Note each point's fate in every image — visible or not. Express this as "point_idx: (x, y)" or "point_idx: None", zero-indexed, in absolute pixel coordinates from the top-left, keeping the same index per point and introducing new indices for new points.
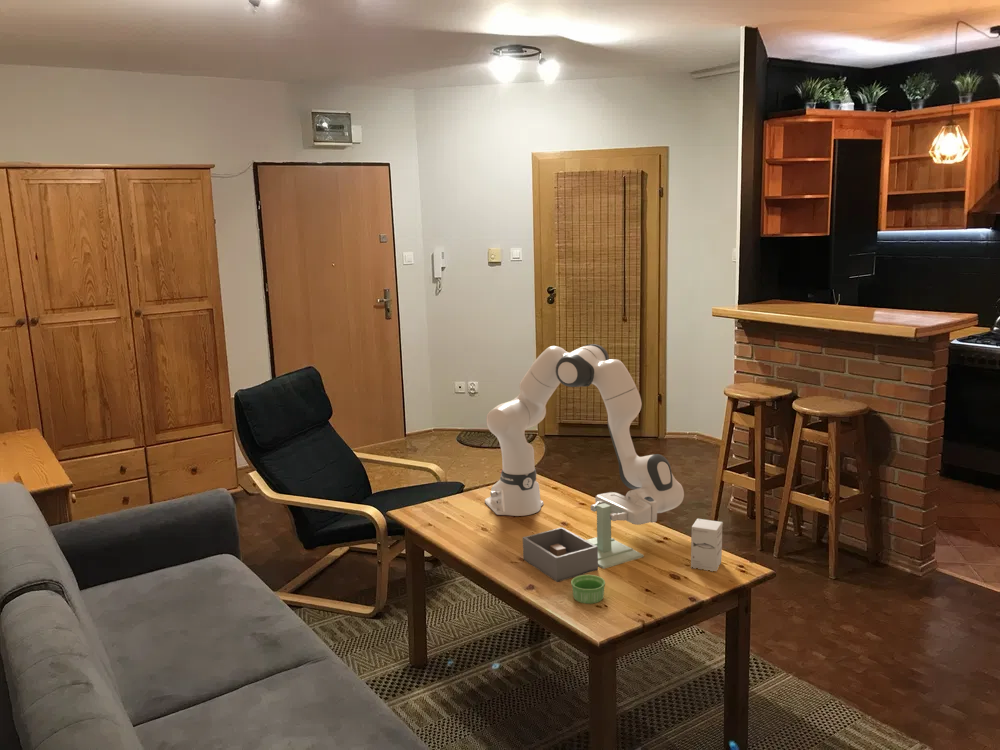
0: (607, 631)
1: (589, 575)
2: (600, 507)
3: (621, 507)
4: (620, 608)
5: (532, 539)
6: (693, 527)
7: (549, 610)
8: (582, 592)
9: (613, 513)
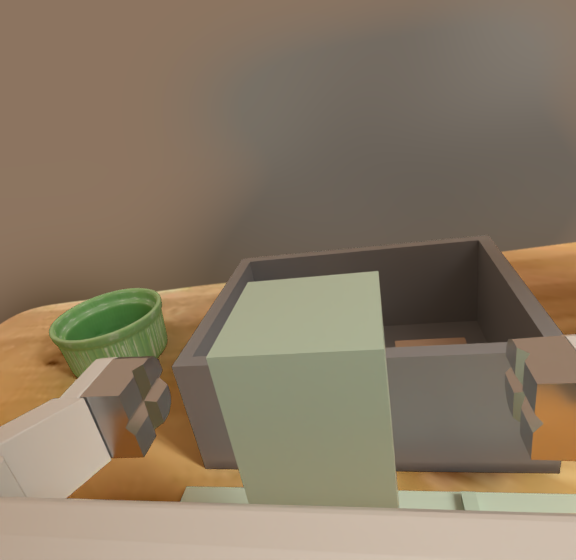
0: (12, 325)
1: (123, 328)
2: (294, 284)
3: (26, 502)
4: (3, 380)
5: (485, 266)
6: None
7: (173, 289)
8: (107, 305)
9: (123, 381)
